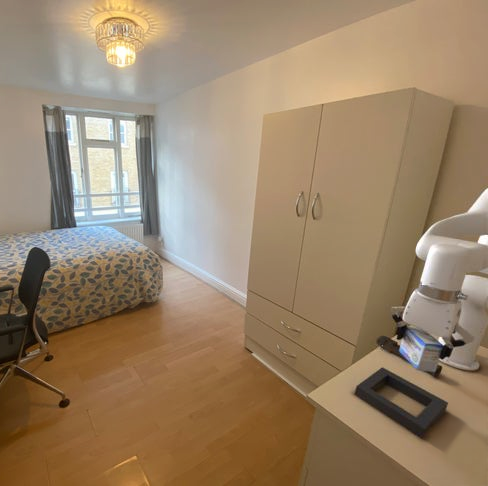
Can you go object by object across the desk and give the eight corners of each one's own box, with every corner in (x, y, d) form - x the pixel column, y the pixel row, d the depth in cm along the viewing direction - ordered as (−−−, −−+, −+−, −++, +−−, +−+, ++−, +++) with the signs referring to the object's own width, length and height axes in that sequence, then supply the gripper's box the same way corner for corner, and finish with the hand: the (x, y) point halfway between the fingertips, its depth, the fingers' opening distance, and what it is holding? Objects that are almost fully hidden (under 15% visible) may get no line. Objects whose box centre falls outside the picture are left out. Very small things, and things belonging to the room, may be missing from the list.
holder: (380, 375, 91) (382, 367, 90) (445, 411, 78) (448, 402, 77) (354, 394, 83) (356, 385, 83) (421, 438, 70) (424, 429, 69)
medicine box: (398, 351, 81) (405, 326, 79) (415, 352, 81) (422, 327, 78) (417, 370, 74) (425, 343, 71) (435, 372, 73) (445, 345, 71)
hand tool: (441, 375, 91) (445, 363, 89) (434, 378, 89) (438, 367, 88) (380, 342, 108) (383, 331, 106) (373, 344, 106) (376, 334, 105)
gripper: (492, 301, 65) (469, 361, 70) (403, 276, 80) (390, 327, 85) (482, 310, 62) (459, 372, 67) (391, 282, 76) (377, 335, 81)
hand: (420, 347), depth 76 cm, fingers closed on medicine box, 8 cm apart
